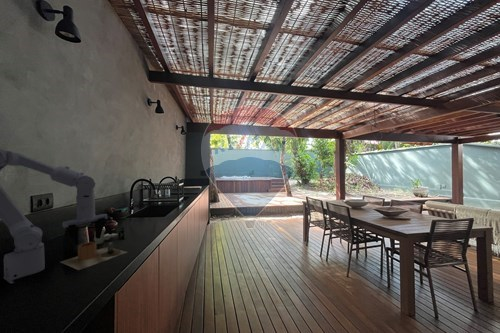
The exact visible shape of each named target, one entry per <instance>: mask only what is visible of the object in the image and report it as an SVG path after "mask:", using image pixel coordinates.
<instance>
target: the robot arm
mask: <svg viewBox="0 0 500 333" xmlns="http://www.w3.org/2000/svg"><path fill="white" fill-rule="evenodd" d="M6 166H10V167H13V166H14V167H16V166H17V167H18V166H19V167H20V166H21V167H26V169H27V168H28V169H31V170H34V171H37V172H39V173H42V174H46V175H49V177H50V179H51V180H52V182H53V181H54V182H57V183H59V184H62V185H65V186H68V187H71V188H72V187H73V188H76V196H75V197H76V202H75V203H76V218H74V219H70V220H66V221H62V225H61V226H62V228H64V229H65V230H66V232H67V233H68V235H69V236H70V239H71V240H72V244H73V245H74V246H77V245H78V246H79V228H80V227H78V226H77V225H82V224H86V223H92V222H93V224H94V228H95V229H94V230H95V231H94V232H95V235H96V238H98V239H99V238H100V237H101V233H102V230H104V227H105V225H106V223H107V219H108V218H109V217H108V214H107V213H101V214H96V200H95V199H96V198H95V197H96V196H95V190H94V188H95V186H96V181H95V179H94V178H92V177H91V176H89V175H84V172H78V171H75V170H72V169H71V168H70V167H69V166H68V165H66V166H63V165H59V166H56V167H55V166H52V165H50V164H47V163H44V162H42V161H40V160H37V159H35V158H32V157H29V156H27V155H24V154H21V153H18V152H14V151H11V150H7V149H2V148H0V171H1V170H2V169H4V168H5V167H6ZM0 220H1V221H2V222H3V223H4V225H5V226H6V227H7V229H8V231H9V233H10V235H11V236H12V238H13V240H14V241H13V244H14V247H15V248H14V249H13V251H12V252H9V253H6V254H4V255H3V256H4V257H3V279H4V280H5V281H6V282H8V283H9V284H15V283H16V281H14V280H17V279H21V278H24V277H26V276H30V275H33V274H37V273H40V272H43V270H45V267H46V265H45V262H46V261H45V243H44V242H42V238H43V232H44V231H43V229H41V228H40V227H38V226H36V225H34V224H33V223H32V222H31V221H30V220H29V219H28V218H27V217H26V216H25V215H24V213H23V212H22V211H21V209H20V208H19V207H18V206H17V204H16V203H15V202H14V200H12V198H11V197H10V196H9V194H8V193H7V192H6V190H4V188H3V187H2V186H1V185H0ZM95 235H94V236H95Z"/></svg>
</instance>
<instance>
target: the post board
mask: <svg viewBox="0 0 500 333" xmlns="http://www.w3.org/2000/svg"><path fill="white" fill-rule="evenodd" d="M106 244H107V246H105V247H102V248H100V249H97V255H96V256H95V257H94V258H91V259H88V260H78V255H77V256H75V257H71V258H67V259H64V260H62V261H60V263H61V264H63V265H65V266H68V267H70V268H72V269H75V270H77V271H81V270H83V269H86V268H89V267H91V266H95V265H97V264H100V263H102V262H105V261H109V260H111V259H114V258H116V257H119V256H122V255H124V254H127V253H128V251H125V250H121V249H118V248H115V247H114V241H109V242H107V243H106Z"/></svg>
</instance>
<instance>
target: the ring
mask: <svg viewBox="0 0 500 333" xmlns="http://www.w3.org/2000/svg"><path fill="white" fill-rule="evenodd" d="M97 245H98V244H96V242H95V241H88V242H85V243H80V244H78V246H77V256H78V260H88V259H91V258H94V257H95V256H96V255H97V250H98V249H97Z"/></svg>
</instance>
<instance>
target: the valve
mask: <svg viewBox="0 0 500 333" xmlns="http://www.w3.org/2000/svg"><path fill="white" fill-rule="evenodd" d="M93 234H94V237H93V242H96V245H99V244H103V243H105V241H107V240H110V239H111V238H116V237H118V239H120V240H125V229H124V226H122V227H120V230H119V231H117V233H111V234H109V232H108V233H106V234H105V230H104V229H103V230H102V233H101V237H100V238H99V239H98V238H96V235H95V231H94V232H93Z"/></svg>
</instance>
